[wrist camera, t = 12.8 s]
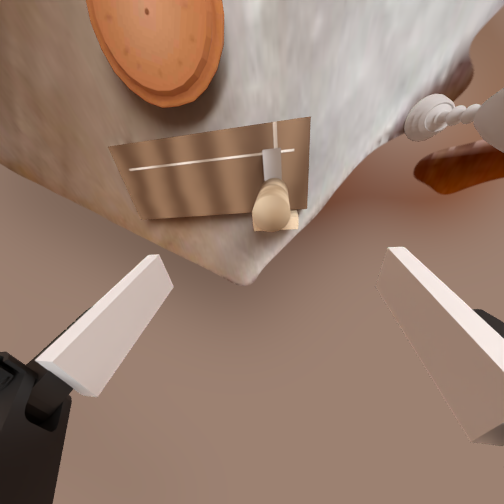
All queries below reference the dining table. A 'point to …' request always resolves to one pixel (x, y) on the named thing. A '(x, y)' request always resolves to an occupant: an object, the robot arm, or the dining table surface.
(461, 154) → the dining table surface
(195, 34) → the pie
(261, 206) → the wooden handled tool
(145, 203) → the board
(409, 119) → the chalice
